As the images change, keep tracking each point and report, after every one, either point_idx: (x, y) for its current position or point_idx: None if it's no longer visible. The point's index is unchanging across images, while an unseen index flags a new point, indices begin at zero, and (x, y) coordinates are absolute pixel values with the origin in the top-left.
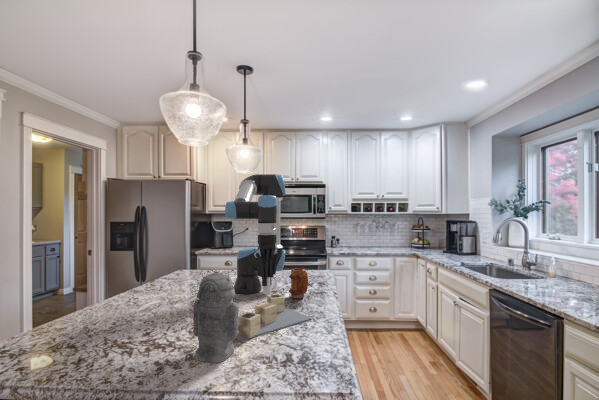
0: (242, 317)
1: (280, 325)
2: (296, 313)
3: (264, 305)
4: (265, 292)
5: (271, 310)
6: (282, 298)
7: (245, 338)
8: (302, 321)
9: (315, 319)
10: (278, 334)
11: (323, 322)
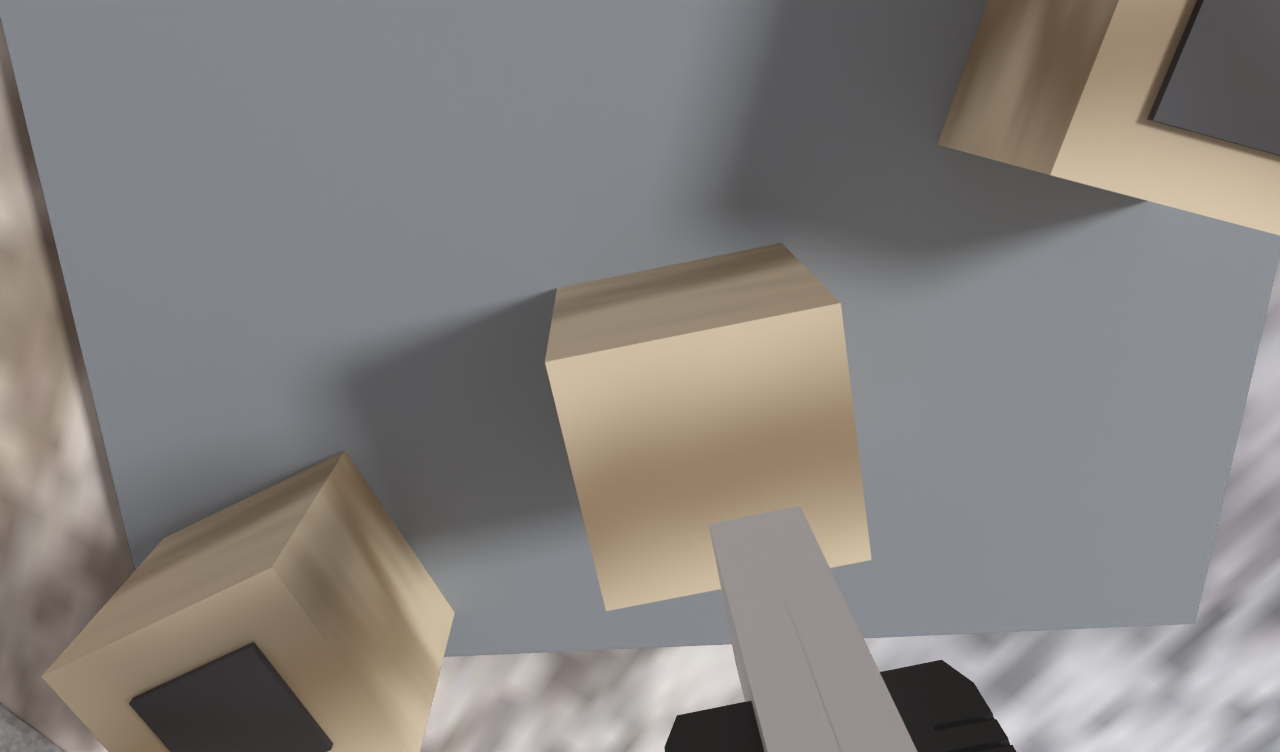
0: (127, 726)
1: None
2: (1203, 383)
3: (692, 454)
4: (729, 628)
5: None
6: (1271, 231)
7: None
8: (1044, 624)
9: (1223, 628)
10: (611, 720)
11: (1206, 735)
